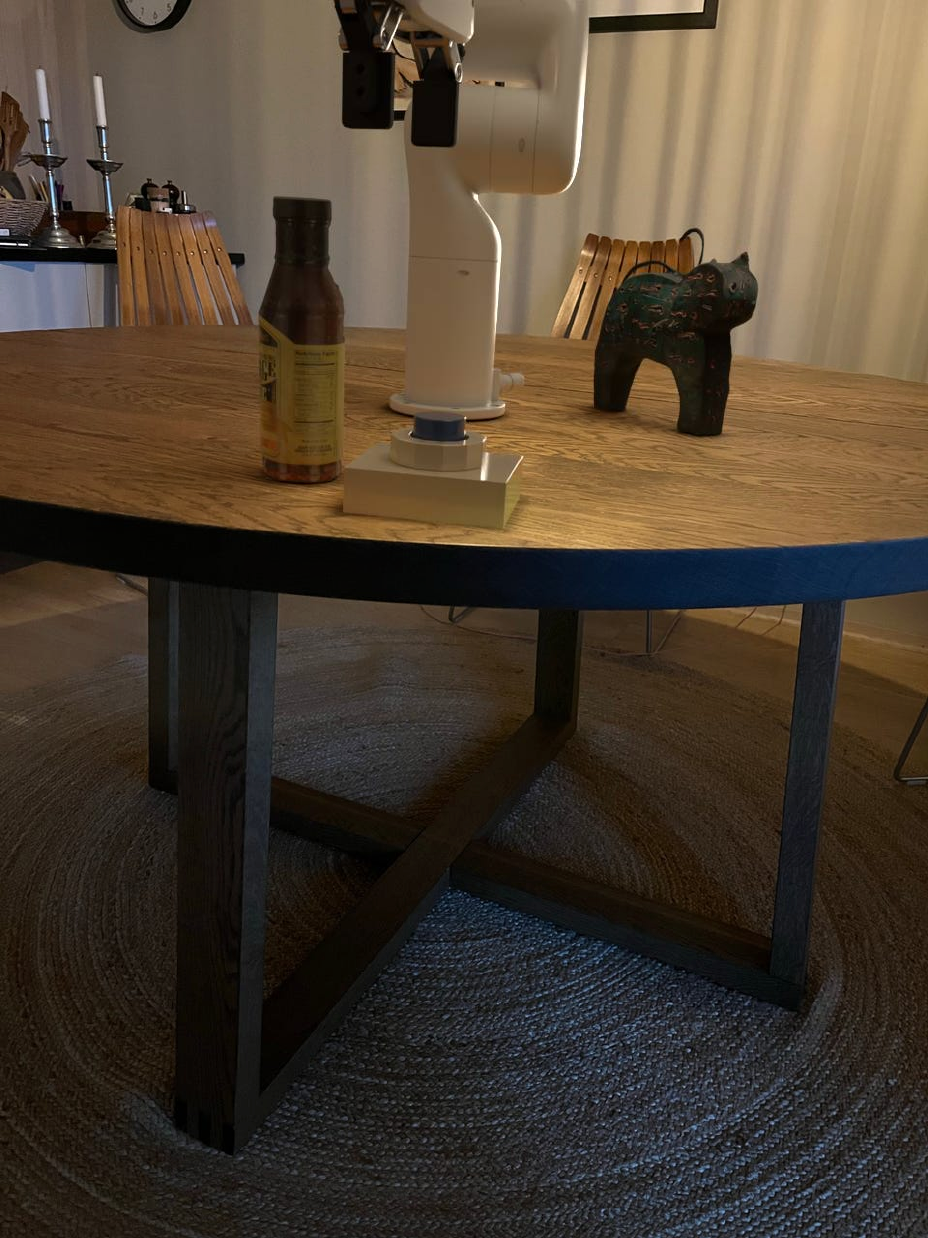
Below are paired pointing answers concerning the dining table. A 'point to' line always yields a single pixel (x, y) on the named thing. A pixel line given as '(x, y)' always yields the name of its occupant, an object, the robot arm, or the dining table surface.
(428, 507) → the push button base
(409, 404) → the robot arm
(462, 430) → the cylinder
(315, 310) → the sauce bottle
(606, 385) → the ceramic cat
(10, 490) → the dining table surface
